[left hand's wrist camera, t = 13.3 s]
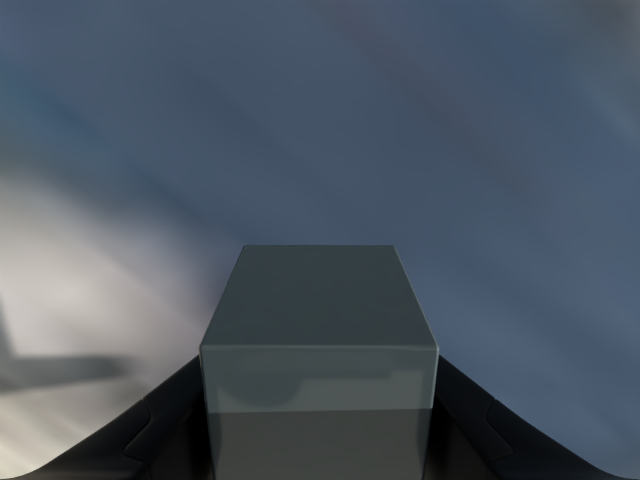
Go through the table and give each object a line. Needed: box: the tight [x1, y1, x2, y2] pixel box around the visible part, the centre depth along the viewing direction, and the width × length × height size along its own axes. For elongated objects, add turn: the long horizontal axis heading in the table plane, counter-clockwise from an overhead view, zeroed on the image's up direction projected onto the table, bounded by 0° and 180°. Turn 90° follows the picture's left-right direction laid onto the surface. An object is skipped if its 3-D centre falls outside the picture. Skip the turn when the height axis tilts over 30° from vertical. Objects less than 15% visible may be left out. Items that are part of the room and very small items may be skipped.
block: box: [198, 245, 440, 480], centre depth 11 cm, size 4×5×5 cm
